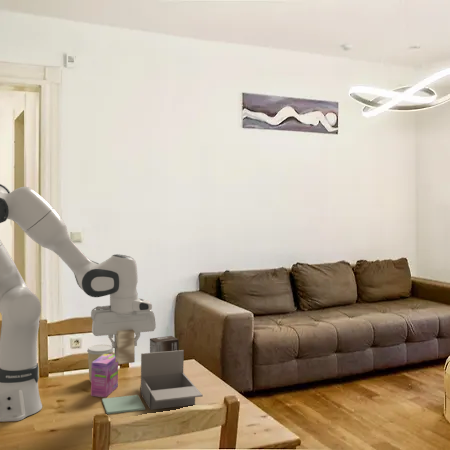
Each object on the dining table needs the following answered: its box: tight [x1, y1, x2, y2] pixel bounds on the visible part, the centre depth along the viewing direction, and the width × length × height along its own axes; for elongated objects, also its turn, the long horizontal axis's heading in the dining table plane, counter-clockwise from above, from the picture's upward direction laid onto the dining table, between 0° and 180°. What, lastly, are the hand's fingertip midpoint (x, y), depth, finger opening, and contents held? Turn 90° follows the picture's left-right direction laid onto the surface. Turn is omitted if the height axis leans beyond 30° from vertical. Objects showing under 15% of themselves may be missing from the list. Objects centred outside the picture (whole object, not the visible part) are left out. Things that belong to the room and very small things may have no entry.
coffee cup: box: [87, 344, 114, 383], centre depth 201 cm, size 9×9×12 cm
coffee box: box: [149, 335, 180, 353], centre depth 200 cm, size 9×6×16 cm
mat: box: [101, 394, 146, 415], centre depth 177 cm, size 12×12×1 cm
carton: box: [140, 349, 203, 411], centre depth 179 cm, size 15×23×14 cm, turn 20°
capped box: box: [113, 329, 136, 365], centre depth 176 cm, size 5×9×10 cm, turn 20°
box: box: [90, 353, 119, 398], centre depth 189 cm, size 10×6×12 cm, turn 168°
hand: (124, 346), depth 176 cm, fingers closed on capped box, 5 cm apart
